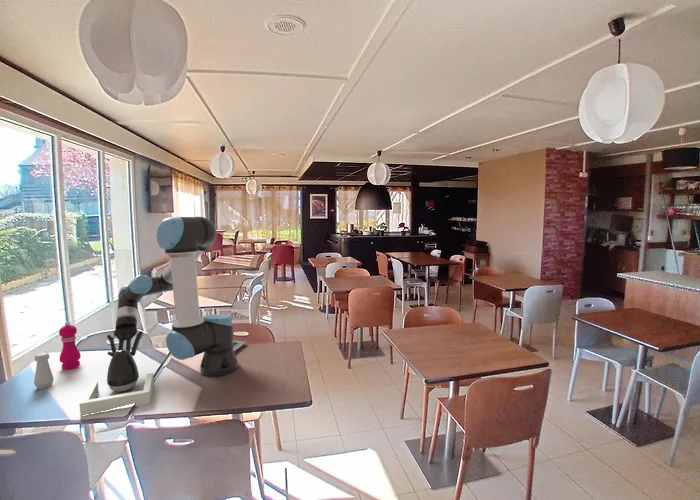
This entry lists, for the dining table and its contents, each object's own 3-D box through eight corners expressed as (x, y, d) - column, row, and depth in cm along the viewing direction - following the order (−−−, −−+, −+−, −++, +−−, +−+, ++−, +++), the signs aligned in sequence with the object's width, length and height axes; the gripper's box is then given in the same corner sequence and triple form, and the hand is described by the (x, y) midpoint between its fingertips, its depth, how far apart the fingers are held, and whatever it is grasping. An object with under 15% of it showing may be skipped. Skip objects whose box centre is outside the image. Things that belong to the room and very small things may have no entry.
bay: (92, 394, 134) (91, 382, 134) (153, 384, 142) (153, 373, 142) (80, 416, 120) (79, 403, 119) (149, 404, 128) (149, 391, 127)
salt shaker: (32, 391, 136) (29, 358, 135) (37, 385, 141) (33, 352, 140) (52, 388, 139) (49, 355, 137) (56, 381, 144) (53, 350, 142)
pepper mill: (56, 369, 155) (52, 323, 153) (74, 362, 162) (70, 318, 160) (67, 372, 153) (63, 325, 150) (85, 365, 159) (81, 320, 157)
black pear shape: (119, 380, 144) (117, 344, 142) (145, 382, 143) (142, 345, 141) (100, 394, 134) (97, 355, 132) (127, 396, 133) (124, 357, 131)
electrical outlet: (233, 355, 171) (233, 350, 171) (213, 354, 173) (213, 349, 173) (246, 345, 184) (246, 341, 184) (227, 344, 186) (227, 339, 186)
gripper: (145, 322, 161) (143, 374, 148) (110, 325, 156) (104, 379, 143) (143, 313, 155) (140, 366, 142) (106, 317, 150) (100, 372, 137)
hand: (122, 373), depth 142 cm, fingers closed
